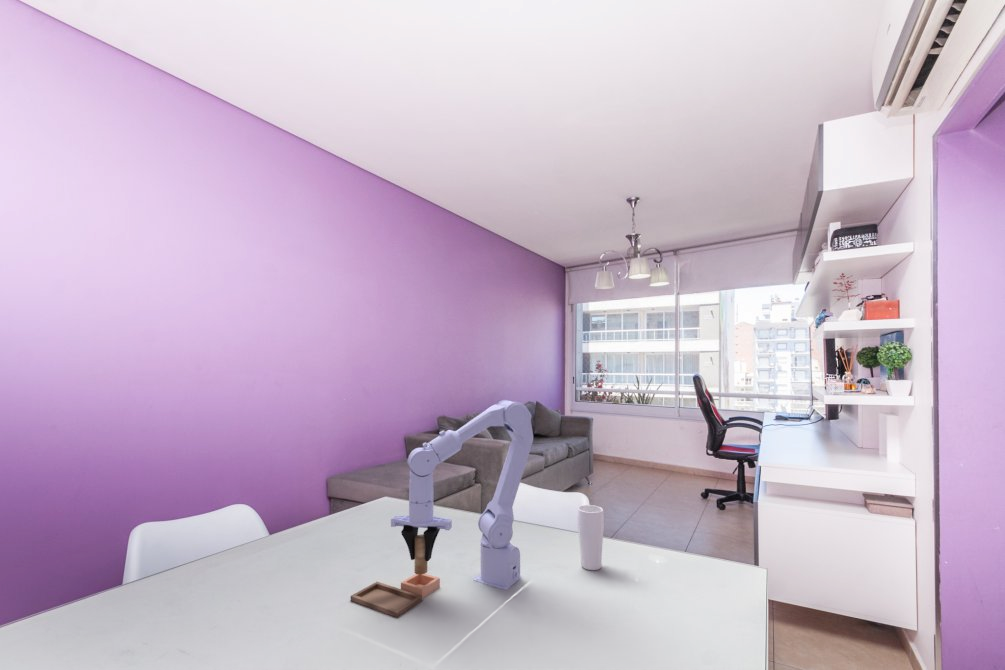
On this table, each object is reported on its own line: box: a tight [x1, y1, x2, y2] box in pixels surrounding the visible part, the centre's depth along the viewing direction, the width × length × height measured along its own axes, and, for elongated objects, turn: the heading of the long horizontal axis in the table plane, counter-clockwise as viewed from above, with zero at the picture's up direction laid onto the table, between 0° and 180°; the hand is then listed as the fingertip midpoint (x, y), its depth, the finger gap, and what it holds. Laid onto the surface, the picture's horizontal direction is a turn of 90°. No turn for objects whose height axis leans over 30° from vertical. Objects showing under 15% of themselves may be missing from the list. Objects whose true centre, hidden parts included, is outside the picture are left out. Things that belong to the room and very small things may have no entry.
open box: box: [400, 573, 441, 599], centre depth 109 cm, size 6×6×2 cm
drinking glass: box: [577, 504, 605, 571], centre depth 122 cm, size 7×7×15 cm
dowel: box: [414, 534, 428, 575], centre depth 109 cm, size 3×3×8 cm
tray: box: [350, 581, 423, 619], centre depth 104 cm, size 14×8×2 cm, turn 59°
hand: (421, 558), depth 109 cm, fingers closed on dowel, 3 cm apart
